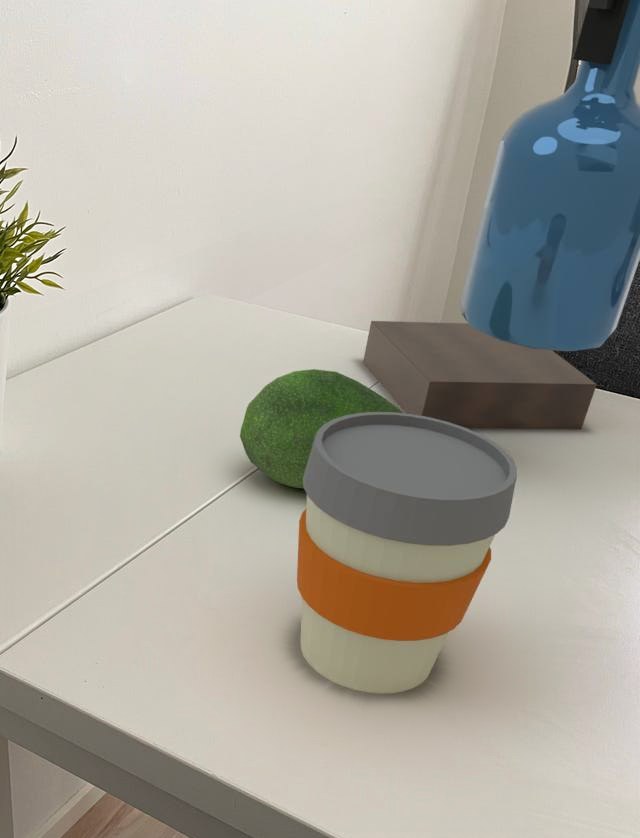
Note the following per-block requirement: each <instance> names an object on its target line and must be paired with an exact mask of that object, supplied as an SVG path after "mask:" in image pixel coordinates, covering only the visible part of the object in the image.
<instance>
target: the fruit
mask: <svg viewBox="0 0 640 838" xmlns="http://www.w3.org/2000/svg"><path fill="white" fill-rule="evenodd" d="M366 412H395V413H404V411H403V410H401V409H399V408H398V407H397V406H396V405H394V404H393V403H392V402H391V401H389V400H388V399H386V398H385V397H383V396H382V395H381V394H380V393H378V392H377V391H374V390H373V389H372V388H369V387H368V386H366V385H364V384H363V383H361V382H359V381H358V380H355V379H354V378H351V377H350V376H346V375H344V374H342V373H339V372H338V371H334V370H333V371H332V370H325V369H318V368H317V369H316V368H312V369H304V370H303V369H302V370H297V371H296V370H295V371H292V372H290V373H286V374H285V375H282V376H279V377H276V378H275V379H273V380H272V381H271V382H269V383H268V384H266V385H265V386H264V387H263V388H262V389H261V390H260V391H259V392H258V393H257V395H256V396H254V398H253V399H252V400H251V401H250V402H249V403H248V404H247V407H246V411H245V414H244V418H243V421H242V424H241V427H240V433H239V438H240V441H241V443H242V446H243V449H244V451H245V454H246V457H247V458H248V459H249V461H250V463H251V464H252V465H254V467H256V468H257V469H258V470H259V471H260V472H261V473H263V474H264V475H266V476H267V477H268V478H269V479H271V480H272V481H274V482H276V483H279V484H281V485H285V486H287V487H290V488H294V489H295V488H296V489H304V487H303V476H304V472H305V469H306V466H307V462H308V459H309V456H310V452H311V449H312V446H313V442H314V439H315V436H316V433H317V431H318V430H319V429H320V428H321V427H322V426H323V425H324V424H325V423H327V422H329V421H331V420H333V419H335V418H339V417H342V416H345V415H350V414H356V413H366Z"/></svg>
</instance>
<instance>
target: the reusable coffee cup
mask: <svg viewBox="0 0 640 838" xmlns="http://www.w3.org/2000/svg"><path fill="white" fill-rule="evenodd" d="M517 477H518V468H517V464H516V463H515V461H514V459H513V458H512V456H511V455H510V454H509V453H508V452H507V450H505V449H504V448H503V447H501V446H500V445H499V444H497V443H496V442H494V441H493V440H491V439H490V438H488V437H486V436H484V435H483V434H480V433H478V432H477V431H474V430H471V429H470V428H465V427H462V426H459V425H456V424H453V423H450V422H446V421H442V420H438V419H434V418H430V417H425V416H419V415H414V414H406V413H405V412H403V413H395V412H366V413H356V414H350V415H345V416H342V417H339V418H335V419H333V420H331V421H329V422H327V423H325V424H324V425H323V426H322V427H321V428H320V429H319V430H318V431H317V433H316V436H315V439H314V442H313V446H312V449H311V452H310V456H309V459H308V462H307V466H306V469H305V472H304V476H303V487H304V488H303V489H304V492H305V493H306V505H305V506H306V507H305V509H304V510H303V511H302V512H301V515H300V518H299V520H298V521H299V522H298V541H297V542H298V544H297V567H296V569H297V570H296V571H297V572H296V584H297V590H298V591H299V594H300V597H301V598H302V601H301V620H300V651H301V653H302V656H303V658H304V659H305V660H306V662H307V663H308V665H309V666H310V667H311V668H312V669H313V670H314V671H316V673H318V674H320V675H321V676H322V677H324V679H326V680H329V681H331V682H333V683H335V684H336V685H339V686H342V687H345V688H348V689H350V690H354V691H359V692H363V693H368V694H369V693H370V694H381V695H382V694H383V695H384V694H398V693H403V692H406V691H410V690H412V689H415V688H416V687H418V686H420V685H422V684H423V683H424V682H425V681H426V680H427V679H428V677H429V676H430V673H431V672H432V669H433V667H434V665H435V662H436V660H437V659H438V656H439V654H440V652H441V651H442V649H443V646H444V645H445V644H444V643H445V641H446V639H447V637H448V636H449V634H450V632H451V631H453V630H455V629H456V628H457V627H458V626H459V625H460V624H461V623H462V621H463V620H464V617H465V615H466V612H467V610H468V609H469V607H470V604H471V602H472V600H473V599H474V596H475V594H476V592H477V590H478V588H479V585H480V584H481V581H482V579H483V577H484V575H485V573H486V571H487V569H488V567H489V565H490V563H491V561H492V549H491V548H492V547H491V545H492V542H493V540H494V539H495V535H497V534H498V533H499V532H500V531H501V530H503V529H504V528H505V527H506V525H507V523H508V520H509V519H510V515H511V509H512V503H513V499H514V493H515V489H516V482H517Z"/></svg>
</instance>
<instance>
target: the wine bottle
mask: <svg viewBox="0 0 640 838" xmlns="http://www.w3.org/2000/svg"><path fill="white" fill-rule="evenodd" d="M639 74H640V0H630V1H629V4H628V8H627V11H626V15H625V18H624V21H623V25H622V28H621V32H620V35H619V38H618V42H617V45H616V49H615V52H614V56H613V59H612V62H611V64H608V65H605V64H599V63H593V62H586V61H580V64H579V67H578V71H577V74H576V77H575V80H574V82H573V83H572V84H571V85H570V87H568V89H567V90H566V91H565V92H563V94H561V95H559V96H557V97H556V98H553V99H549V100H548V101H545V102H542V103H539V104H537V105H535V106H534V107H532V108H530V109H528V110H527V111H525V112H523V113H522V114H520V115H519V116H518V117H517V118H516V119H515V120H514V121H513V122H512V124H510V126H508V129H507V130H506V131H505V133H504V134H503V136H502V137H501V139H500V142H499V144H498V148H497V153H496V156H495V161H494V165H493V168H492V172H491V177H490V180H489V185H488V189H487V192H486V197H485V200H484V205H483V209H482V213H481V216H480V217H481V218H480V220H479V221H480V222H479V225H478V229H477V234H476V237H475V241H474V246H473V249H472V253H471V256H470V257H471V258H470V262H469V266H468V269H467V274H466V278H465V282H464V285H463V290H462V293H461V298H460V302H459V304H460V305H459V306H460V311H461V315H462V316H463V318H464V320H465V321H466V323H468V324H469V326H471V327H473V328H475V329H477V330H479V331H481V332H483V333H485V334H487V335H490V336H492V337H494V338H496V339H498V340H500V341H504V342H508V343H512V344H516V345H520V346H524V347H528V348H532V349H542V350H552V351H554V352H555V351H557V352H575V351H583V350H589V349H590V350H591V349H598V348H601V347H602V346H603V344H604V343H605V342H606V341H607V339H609V337H610V336H611V335H612V334H613V332H614V331H615V330H616V329H617V327H618V325H619V321H620V318H621V315H622V312H623V309H624V305H625V303H626V301H627V298H628V295H629V291H630V288H631V286H632V283H633V280H634V277H635V274H636V271H637V268H638V266H639V262H640V102H639V101H638V97H637V93H636V84H637V82H638V81H637V80H638V77H639Z"/></svg>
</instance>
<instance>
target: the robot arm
mask: <svg viewBox="0 0 640 838" xmlns="http://www.w3.org/2000/svg"><path fill="white" fill-rule="evenodd" d="M629 1H630V0H589V1H588V4H587V8H586V11H585V14H584V20H583V23H582V26H581V30H580V33H579V37H578V40H577V44H576V48H575V52H574V55H573V60H575V61H579V62H581V61H586V62H593V63H599V64H605V65H608V64H611V62H612V59H613V56H614V52H615V49H616V45H617V42H618V38H619V35H620V32H621V28H622V25H623V21H624V18H625V15H626V11H627V8H628V4H629Z"/></svg>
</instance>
